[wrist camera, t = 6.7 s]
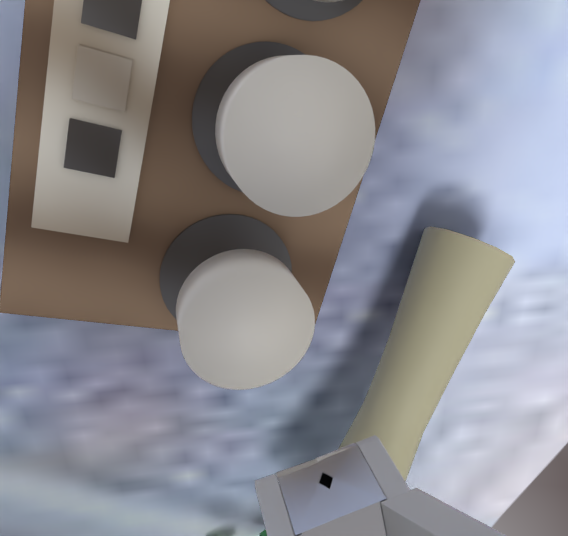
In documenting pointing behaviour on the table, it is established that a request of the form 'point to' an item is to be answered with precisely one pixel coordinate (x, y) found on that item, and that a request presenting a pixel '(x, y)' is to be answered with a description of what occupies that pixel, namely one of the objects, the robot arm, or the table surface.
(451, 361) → the flower vase
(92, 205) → the button board
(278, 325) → the inner button
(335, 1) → the outer button
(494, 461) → the table surface
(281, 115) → the middle button
